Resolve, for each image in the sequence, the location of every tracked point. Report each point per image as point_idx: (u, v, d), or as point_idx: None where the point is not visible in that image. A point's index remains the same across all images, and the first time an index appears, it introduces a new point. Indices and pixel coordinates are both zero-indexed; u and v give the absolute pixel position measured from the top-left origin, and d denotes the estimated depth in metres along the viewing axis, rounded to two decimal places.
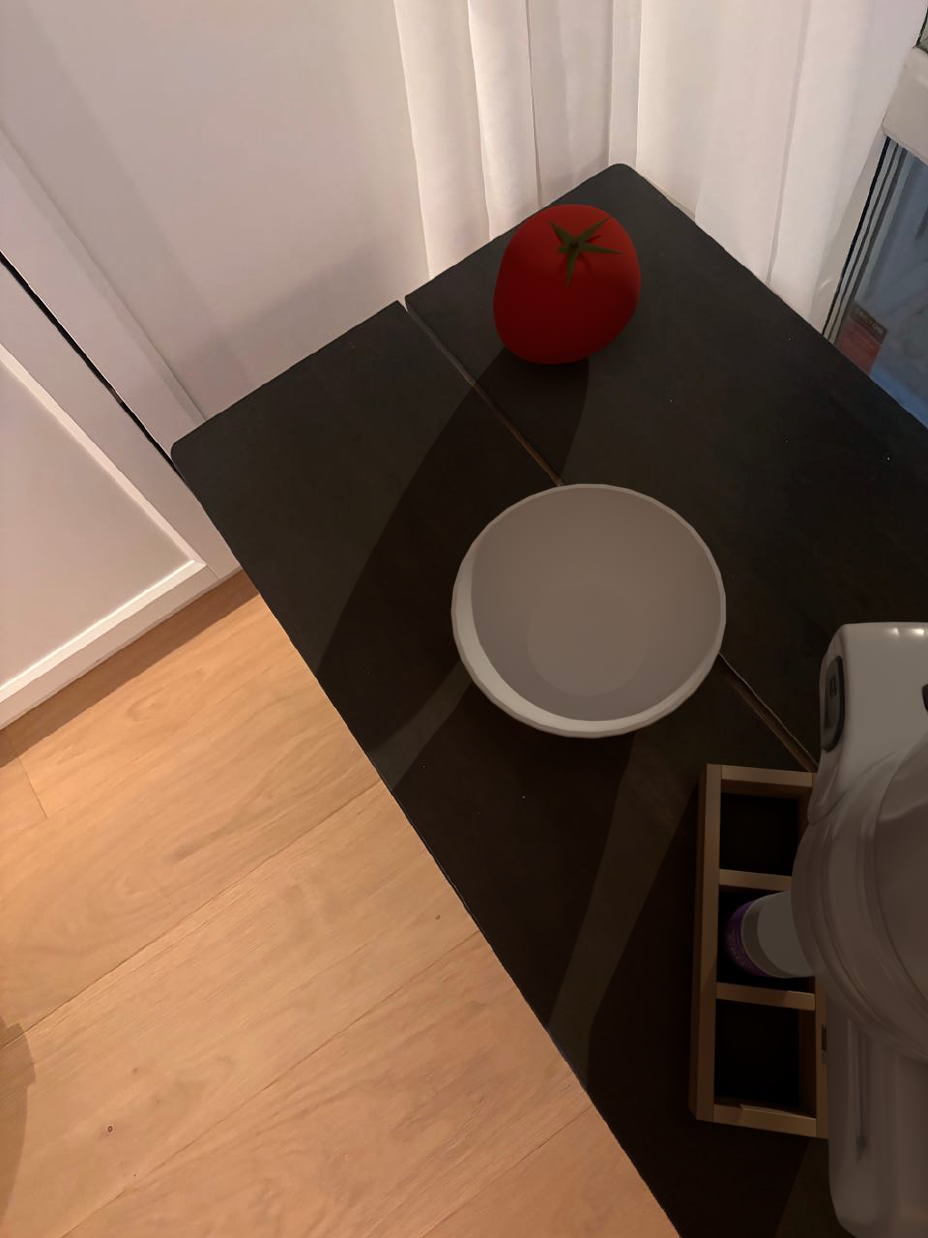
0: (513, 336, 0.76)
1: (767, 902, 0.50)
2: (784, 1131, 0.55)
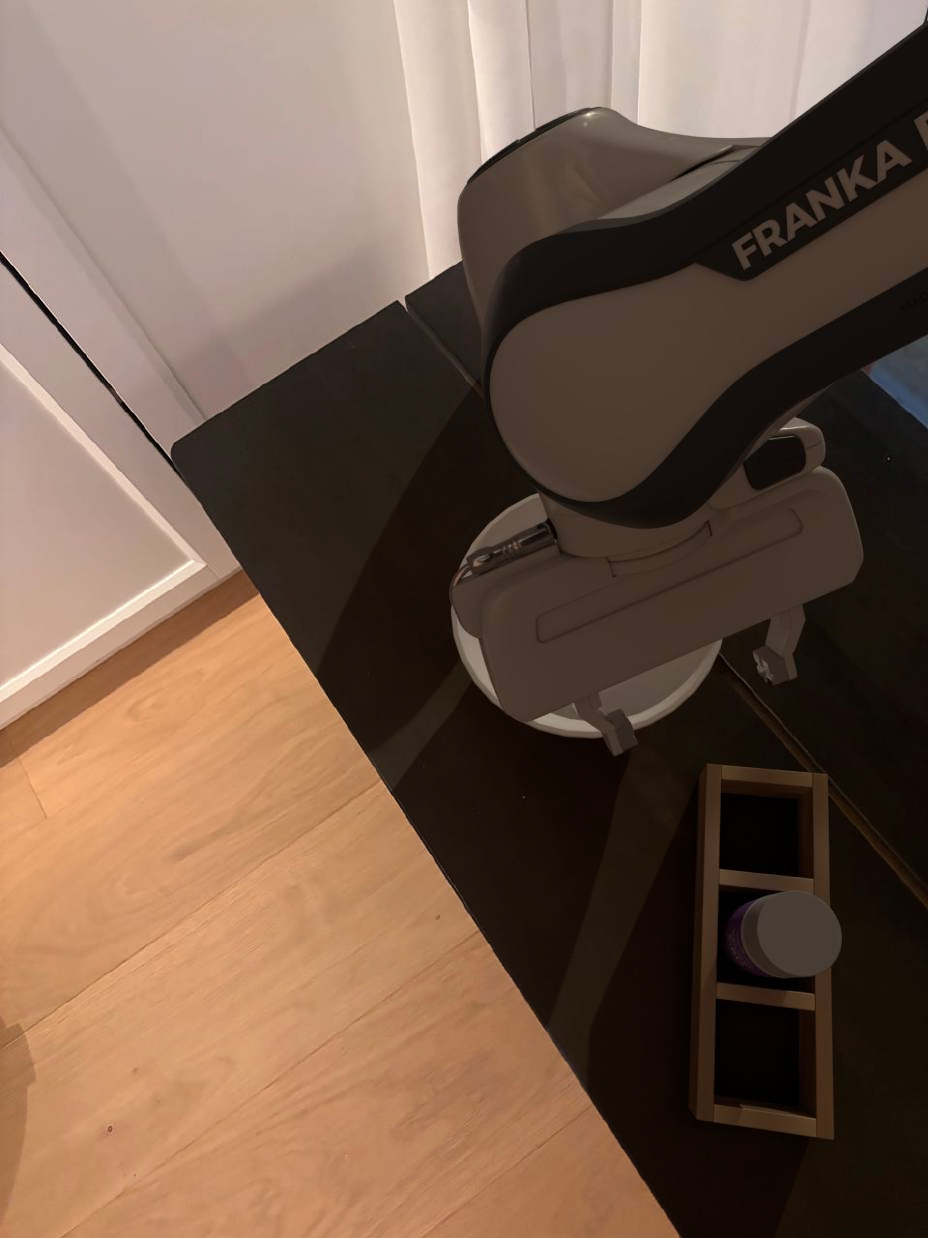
0: None
1: (767, 902, 0.50)
2: (784, 1131, 0.55)
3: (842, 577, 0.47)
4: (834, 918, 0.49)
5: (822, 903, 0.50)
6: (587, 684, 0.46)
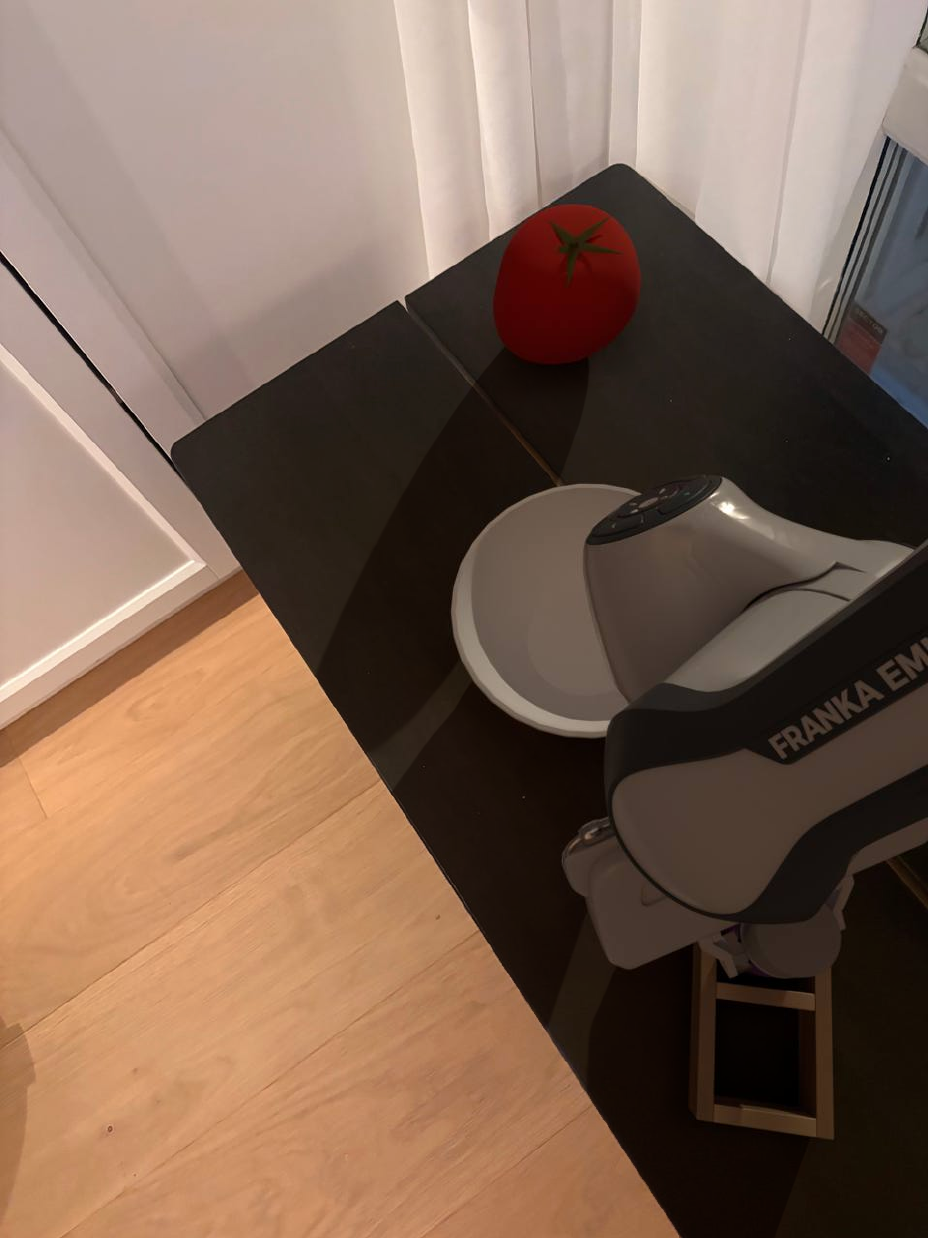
0: (513, 336, 0.76)
1: None
2: (784, 1131, 0.55)
3: (917, 840, 0.51)
4: (833, 918, 0.49)
5: None
6: (685, 938, 0.51)
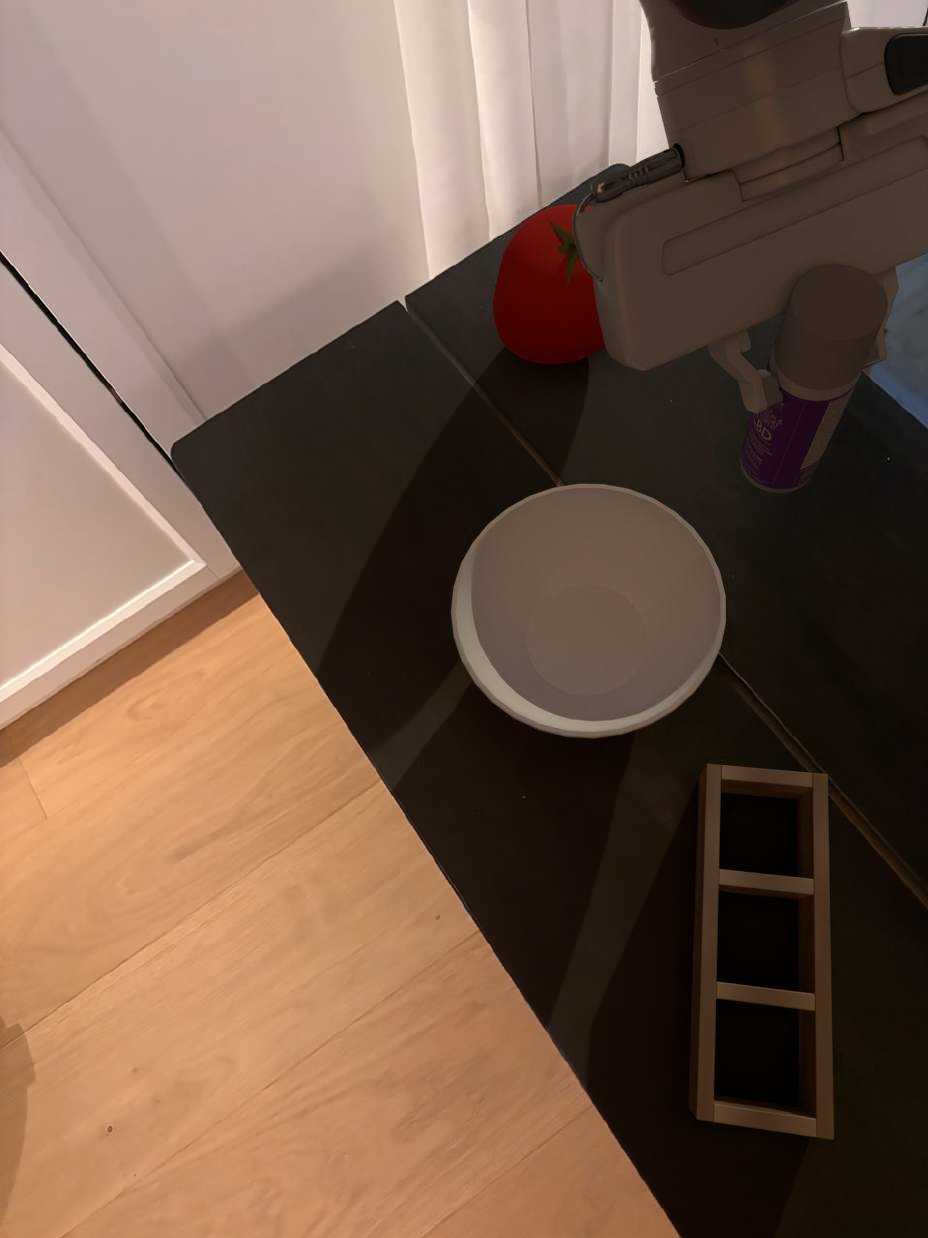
0: (513, 336, 0.76)
1: (802, 277, 0.44)
2: (784, 1131, 0.55)
3: None
4: (879, 284, 0.44)
5: (865, 272, 0.44)
6: (710, 327, 0.45)
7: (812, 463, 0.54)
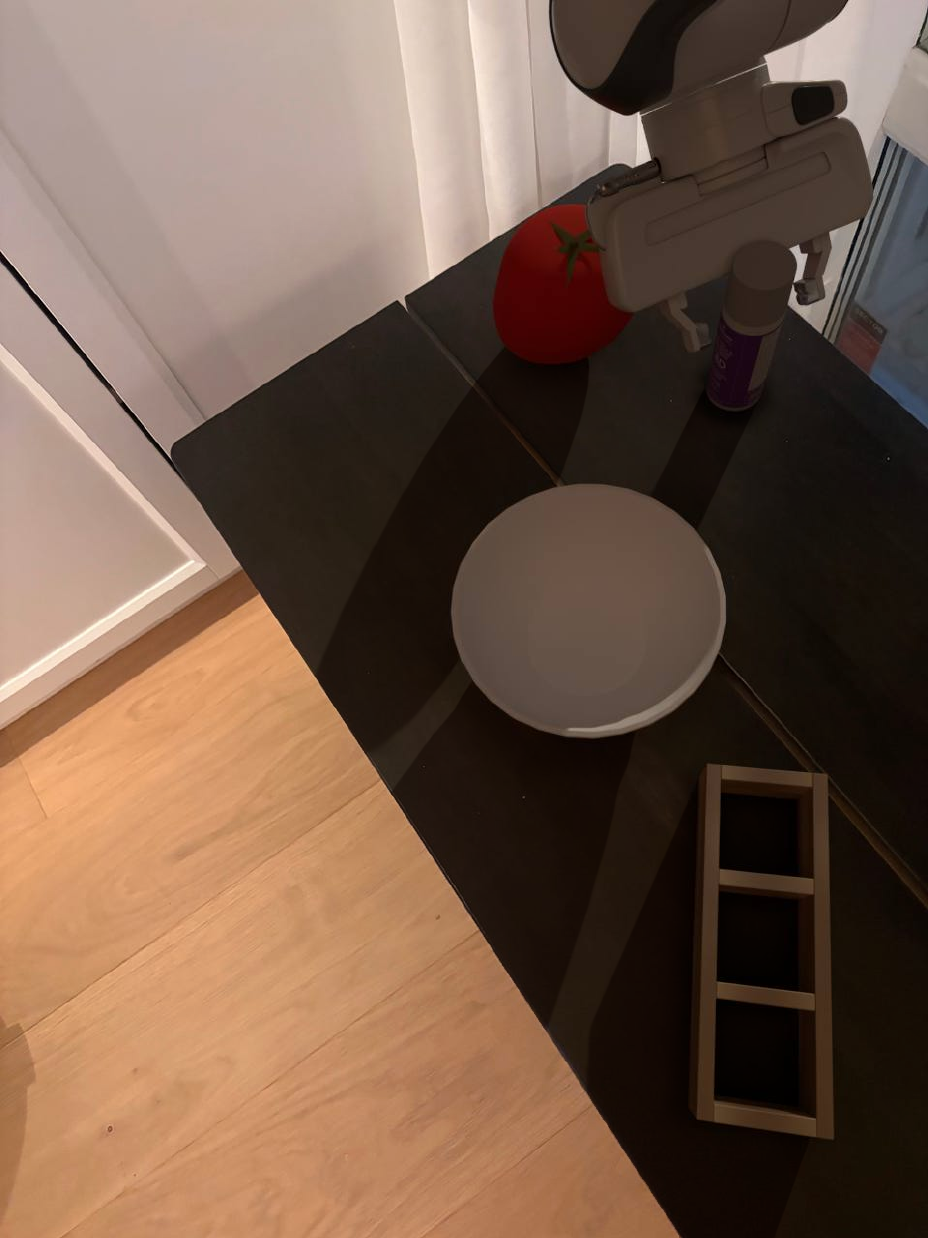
0: (513, 336, 0.76)
1: (741, 249, 0.66)
2: (784, 1131, 0.55)
3: (858, 209, 0.66)
4: (791, 253, 0.65)
5: (782, 245, 0.65)
6: (679, 281, 0.66)
7: (756, 386, 0.75)
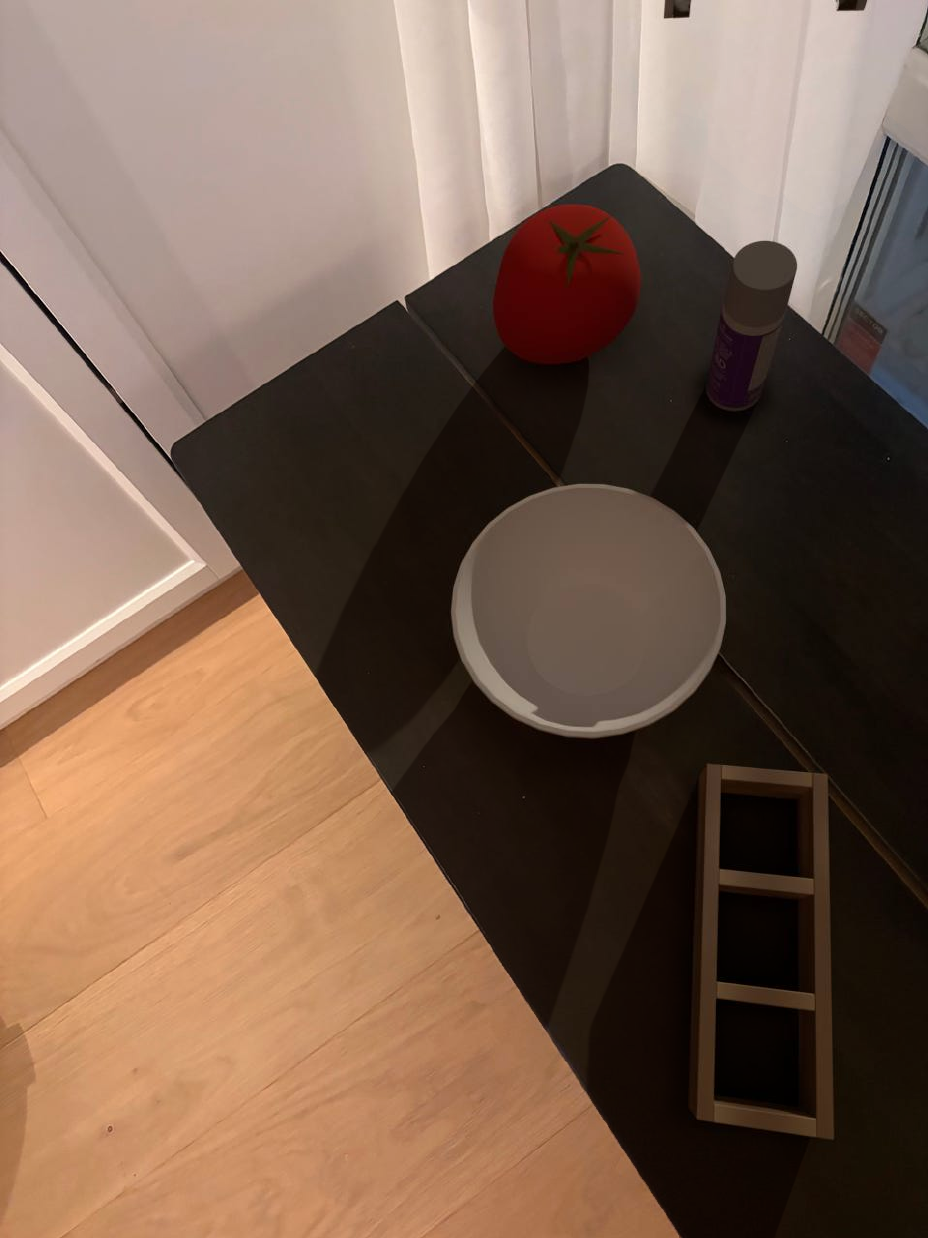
0: (513, 336, 0.76)
1: (741, 249, 0.66)
2: (784, 1131, 0.55)
3: None
4: (791, 253, 0.65)
5: (782, 245, 0.65)
6: None
7: (756, 386, 0.75)
